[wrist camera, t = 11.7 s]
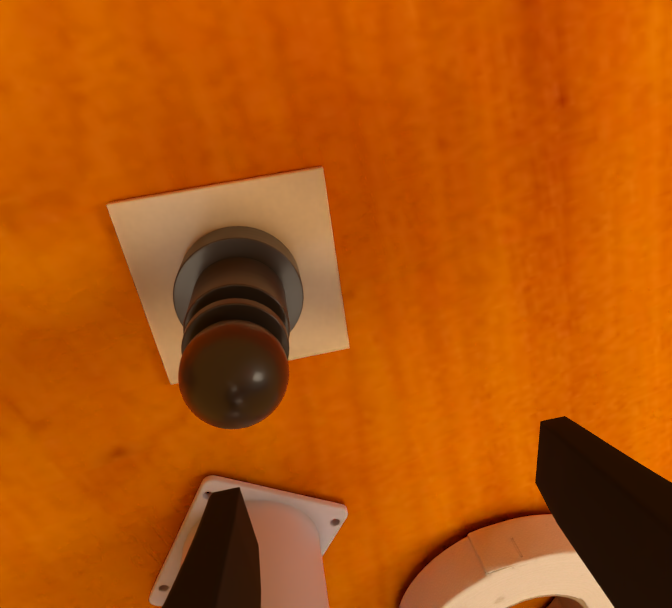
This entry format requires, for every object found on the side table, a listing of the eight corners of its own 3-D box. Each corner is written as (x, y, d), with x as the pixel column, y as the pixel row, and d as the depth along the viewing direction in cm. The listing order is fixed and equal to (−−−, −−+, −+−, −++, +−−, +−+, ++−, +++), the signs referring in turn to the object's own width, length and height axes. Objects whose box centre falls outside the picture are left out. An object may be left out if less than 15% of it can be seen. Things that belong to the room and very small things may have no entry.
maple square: (348, 344, 21) (349, 348, 21) (171, 379, 21) (170, 385, 20) (321, 165, 18) (323, 167, 18) (108, 202, 17) (105, 204, 17)
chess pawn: (273, 349, 20) (284, 495, 13) (162, 314, 19) (106, 455, 12) (319, 252, 19) (359, 356, 12) (202, 205, 17) (166, 291, 10)
